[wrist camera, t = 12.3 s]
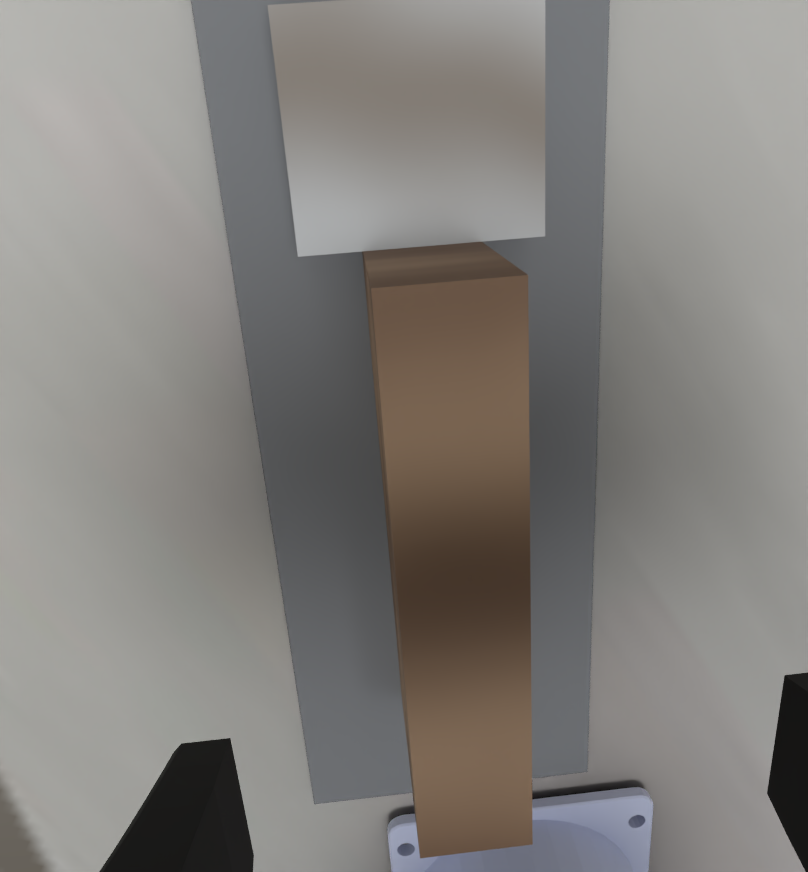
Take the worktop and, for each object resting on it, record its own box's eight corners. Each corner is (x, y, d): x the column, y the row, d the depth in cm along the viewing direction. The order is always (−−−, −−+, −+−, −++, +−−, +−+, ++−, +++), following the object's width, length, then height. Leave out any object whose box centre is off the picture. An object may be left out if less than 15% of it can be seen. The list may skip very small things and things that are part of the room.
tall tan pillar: (535, 679, 21) (592, 837, 16) (353, 700, 20) (358, 865, 16) (532, -4, 14) (623, -71, 10) (272, 14, 14) (240, -48, 10)
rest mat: (583, 761, 22) (587, 772, 22) (314, 792, 22) (314, 804, 22) (604, -67, 15) (611, -72, 14) (188, -41, 14) (183, -46, 14)
